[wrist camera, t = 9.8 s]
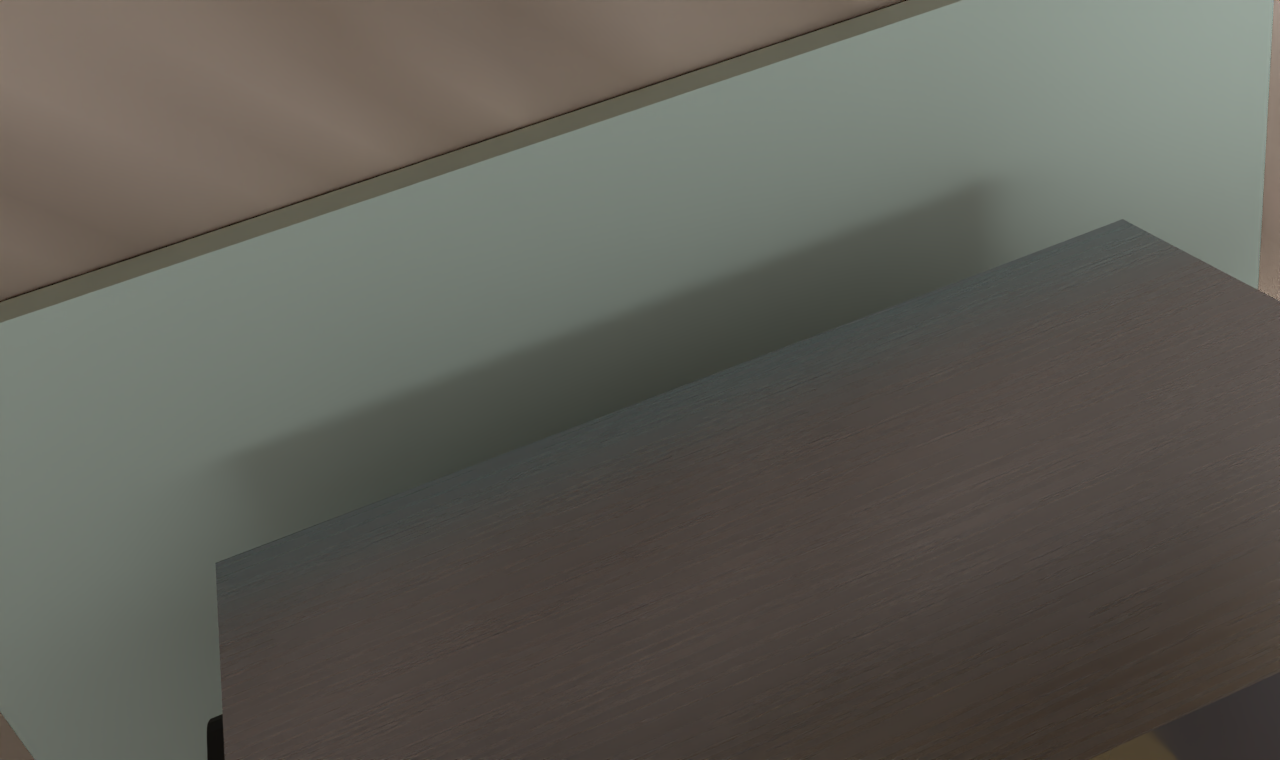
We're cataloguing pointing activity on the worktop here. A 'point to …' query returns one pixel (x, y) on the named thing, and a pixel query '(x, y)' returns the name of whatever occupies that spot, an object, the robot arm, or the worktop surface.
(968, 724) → the lever cap
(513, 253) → the mat
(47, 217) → the worktop surface
